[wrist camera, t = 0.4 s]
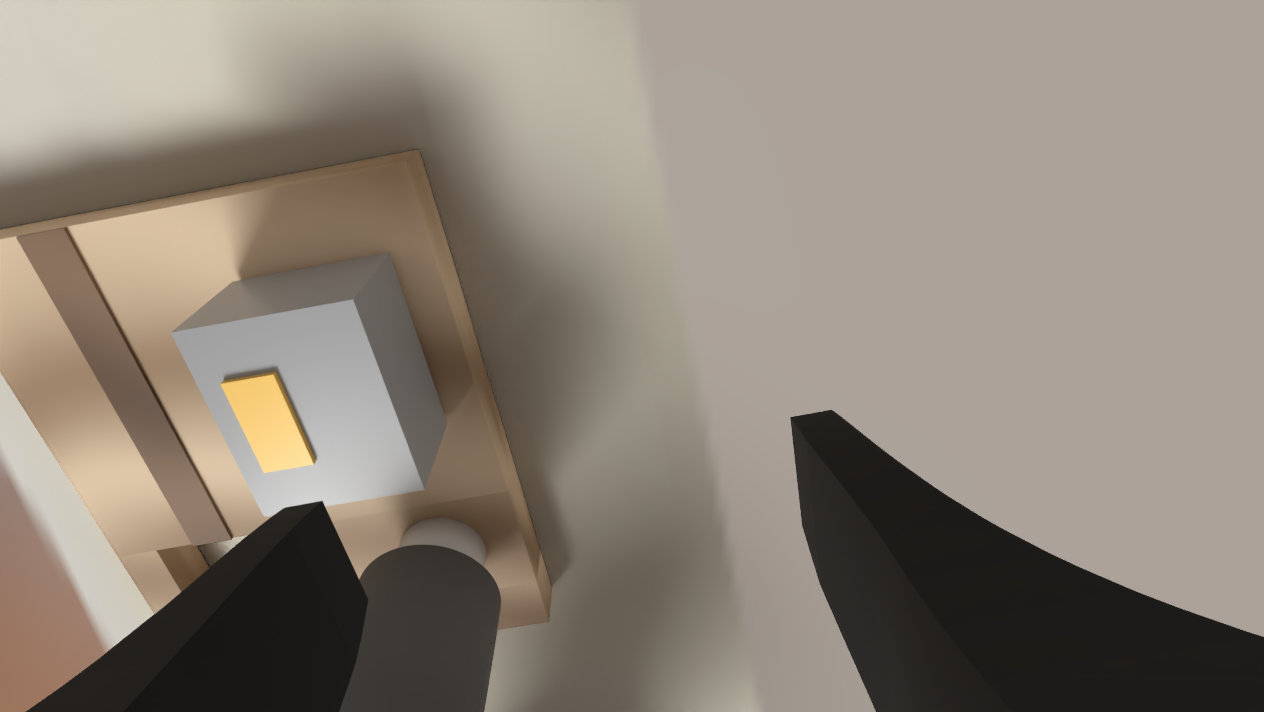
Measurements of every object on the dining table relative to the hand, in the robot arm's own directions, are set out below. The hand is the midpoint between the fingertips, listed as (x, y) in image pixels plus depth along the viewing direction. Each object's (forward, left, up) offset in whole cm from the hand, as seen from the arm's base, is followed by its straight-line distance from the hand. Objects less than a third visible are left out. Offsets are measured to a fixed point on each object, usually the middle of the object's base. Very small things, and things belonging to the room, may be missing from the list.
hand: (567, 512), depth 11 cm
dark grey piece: (-7, +6, -9) cm, 13 cm away
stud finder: (0, +6, -9) cm, 11 cm away
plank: (-3, +9, -10) cm, 14 cm away
